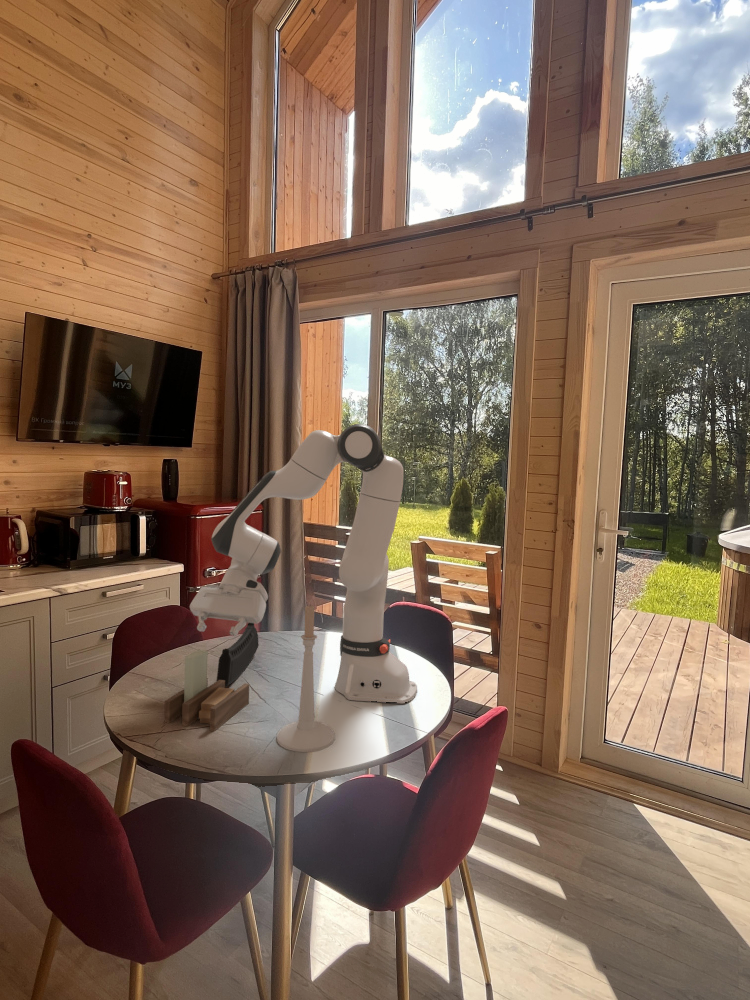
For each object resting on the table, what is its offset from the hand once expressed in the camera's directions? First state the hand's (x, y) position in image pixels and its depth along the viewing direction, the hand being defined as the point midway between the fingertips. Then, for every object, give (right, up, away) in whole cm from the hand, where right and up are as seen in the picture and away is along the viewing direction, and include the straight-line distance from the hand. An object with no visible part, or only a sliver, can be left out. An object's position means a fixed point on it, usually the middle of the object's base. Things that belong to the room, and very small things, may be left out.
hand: (216, 632), depth 147 cm
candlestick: (+25, -19, -20) cm, 38 cm away
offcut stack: (+3, -18, -10) cm, 20 cm away
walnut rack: (+1, -17, -9) cm, 19 cm away
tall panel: (-3, -17, -8) cm, 19 cm away
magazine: (+1, -16, +20) cm, 25 cm away
